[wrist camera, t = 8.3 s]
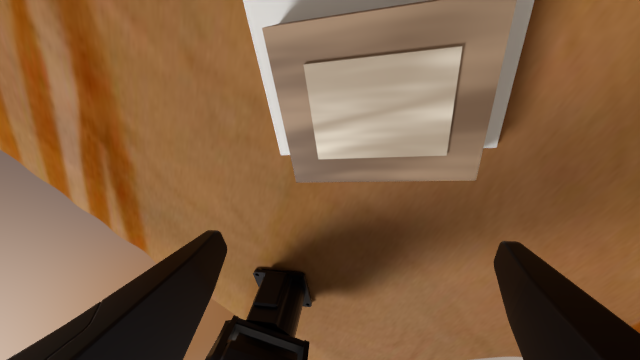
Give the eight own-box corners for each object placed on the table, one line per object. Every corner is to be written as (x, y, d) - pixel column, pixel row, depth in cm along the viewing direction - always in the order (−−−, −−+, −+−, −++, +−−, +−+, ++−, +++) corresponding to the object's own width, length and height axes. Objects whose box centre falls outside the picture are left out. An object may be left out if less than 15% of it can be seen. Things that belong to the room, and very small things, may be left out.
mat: (494, 144, 19) (496, 147, 18) (282, 152, 22) (280, 155, 22) (546, -61, 13) (550, -62, 12) (244, -5, 16) (241, -5, 16)
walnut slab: (476, 182, 17) (521, -12, 11) (295, 183, 19) (260, 28, 14) (463, 157, 19) (494, -10, 14) (305, 161, 22) (279, 23, 16)
